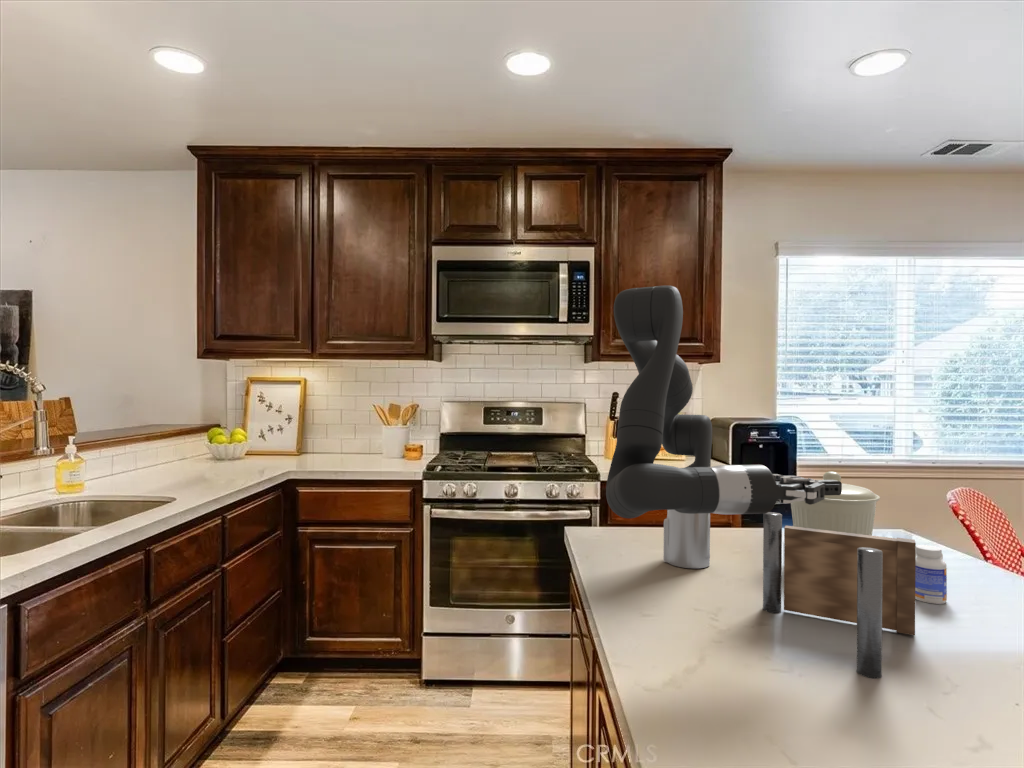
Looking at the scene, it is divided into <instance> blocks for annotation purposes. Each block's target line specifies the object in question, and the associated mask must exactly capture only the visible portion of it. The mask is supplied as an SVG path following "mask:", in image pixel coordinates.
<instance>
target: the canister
mask: <svg viewBox="0 0 1024 768" xmlns="http://www.w3.org/2000/svg"><path fill="white" fill-rule="evenodd" d="M822 480H836V481H840V482H841V481H842V476H841V474H839V472H836V471H827V472H825V473H824V474H823V476H822ZM841 483H842V493H841V494H840V495H825V497H824V500H822V501H819V502H817V503H815V504H812V505H809V504H807V503H805V501H794V502H793V503H790V509H791V516H792V526H794V527H802V528H811V529H820V530H828V531H837V532H845V533H854V534H863V535H871V536H873V529H874V522H875V516H876V508H877V507H876V506H877V502H878V501H880V499H881V496H880V495H878V494H876V493H874V491H872V490H871V489H869V488H867V487H864V486H860V485H855V484H849V483H843V482H841Z"/></svg>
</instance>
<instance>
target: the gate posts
mask: <svg viewBox="0 0 1024 768" xmlns="http://www.w3.org/2000/svg"><path fill="white" fill-rule="evenodd" d="M762 535H763V536H762V537H763V539H762V542H763V546H762V547H763V549H762V550H763V551H762V553H763V554H762V557H763V558H762V567H763V568H762V571H763V572H762V609H763V611H765V612H767V613H773V614H778V613H781V612H782V584H783V583H782V580H783V579H782V578H783V577H782V573H783V571H782V569H783V568H782V567H783V566H782V564H783V563H782V562H783V559H782V557H783V556H782V555H783V550H782V549H783V514H781V513H780V512H772V511H770V512H768V513H764V514H763V533H762ZM882 569H883V552H882V551H881V550H878V549H874V548H866V547H861V548H857V623H856V672H857V673H858V674H859V675H860V676H863V677H865V678H869V679H881V678H882V677H883V676H882V674H883V669H882V668H883V628H882Z"/></svg>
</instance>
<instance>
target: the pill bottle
mask: <svg viewBox="0 0 1024 768" xmlns="http://www.w3.org/2000/svg"><path fill="white" fill-rule="evenodd" d="M916 554H917V556H916V565H915V600H917V601H919V602H922V603H923V602H924V603H926V604H927V603H928V604H933V605H942V604H943V605H944V604H946V603H947V601H948V600H947V599H948V596H947V595H948V593H947V592H948V590H947V589H948V588H947V584H948V583H947V581H948V579H947V577H948V576H947V574H948V573H947V569H948V568H947V562H946V561H944V559H943V560H941V559H940V557H942V554H943V552H942V548H940V547H938V546H934V545H926V544H919V545H917V544H916Z"/></svg>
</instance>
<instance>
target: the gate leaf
mask: <svg viewBox="0 0 1024 768" xmlns="http://www.w3.org/2000/svg"><path fill="white" fill-rule="evenodd" d="M783 532H784V534H783V535H784V542H783V544H784V545H783V546H784V547H783V548H784V553H783V555H784V557H783V558H784V559H783V561H784V562H783V564H784V565H783V610H784V611H788V612H793V613H798V614H804V615H808V616H815V617H820V618H826V619H832V620H836V621H837V620H838V621H842V622H847V623H853V624H857V548H861V547H866V548H874V549H878V550H881V551H882V552H883V569H882V629H886V630H892V631H896V633H900V634H903V635H911V636H916V599H915V565H916V546H917V543H916V540H915V539H912V538H906V537H905V538H903V537H888V536H877V535H872V536H871V535H863V534H854V533H845V532H837V531H828V530H820V529H811V528H802V527H794V526H793V525H784V529H783Z"/></svg>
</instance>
